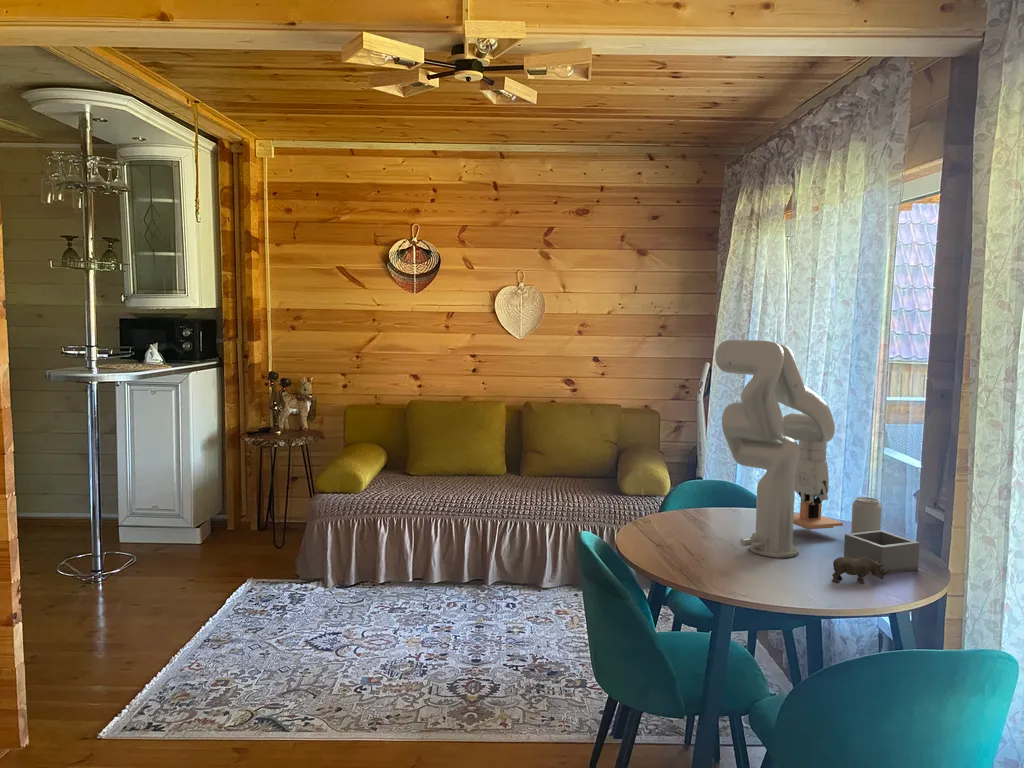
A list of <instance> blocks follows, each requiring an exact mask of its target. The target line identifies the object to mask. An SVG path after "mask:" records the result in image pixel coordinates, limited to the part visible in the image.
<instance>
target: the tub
mask: <svg viewBox="0 0 1024 768" xmlns="http://www.w3.org/2000/svg"><path fill="white" fill-rule="evenodd" d="M843 547H844V549H843V557H849V558H852V559H859V558H864V557H866V558H869V559H871V560H873V561H875V562H876V561H877V560H878V559H879V564H884V565H883V566H882V567H880V569H883V568H885V569H884V571H887V570H888V569H890V571H889V572H888V573H887V574H886V575H893V574H901V573H907V572H914V571H919V563H920V561H919V560H920V542H919V541H915V540H912V539H909V538H906V537H904V536H900V535H898V534H894V533H891V532H888V531H885V530H881V529H880V530H876V531H868V532H859V533H851V532H850V533H845V534H844V546H843ZM884 571H883V572H884ZM886 575H885V576H886Z"/></svg>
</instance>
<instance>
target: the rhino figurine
mask: <svg viewBox="0 0 1024 768" xmlns="http://www.w3.org/2000/svg"><path fill="white" fill-rule="evenodd" d="M832 565H833V570H834V573H832V575H831V576H832V579H831V582H832V583H835V584H840V580H841V581H842V580H843V577H842V576H841V575H843V574H847V575H849V576H857V578H856V579H857V583H858V584H861V585H864V584H865V581H864V578H865V577H866V576H867V575H868V574H869V573H871V574H872V575H873V576H874V577H876V578H878V579H880V580H882V579H884V578H885V576H886V574H887V573H888V572H889V571H890V569H888V570H887V571H884V569H885V568H883V569H880V567H882V566H883V565H884V564H879V559H878V560H877V561H876V562H875V561H873V560H871V559H869V558H866V557H864V558H859V559H852V558H849V557H844V556H843V557H841V556H840V557H837V558H835V559H834V560H833V564H832ZM883 571H884V572H883Z"/></svg>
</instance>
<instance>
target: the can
mask: <svg viewBox="0 0 1024 768" xmlns="http://www.w3.org/2000/svg"><path fill="white" fill-rule="evenodd" d="M851 511H852V512H851V527H850V528H851V530H850V531H851V532H850V534H851V533H859V532H868V531H876V530H881V524H882V504H880V499H877V498H873V497H868V496H858V497H855V498H854V501H853V502H852V508H851Z"/></svg>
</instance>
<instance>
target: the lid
mask: <svg viewBox="0 0 1024 768" xmlns="http://www.w3.org/2000/svg"><path fill="white" fill-rule="evenodd" d="M809 505H811V504H810V501H801V500H800V505H799V506H800V508H799V512H797V513H795V512H794V519H793V525H796V526H798V527H801V528H804V529H805V530H820V529H833V528H834V527H842V526H843V525H844V523H843V522H841V521H838V520H835V519H832V518H829V517H826V516H823V515H822V510H823V509H822V507H823V501H822V502H821V504H820V505H819V517H818V518H811V519H810V518H809Z"/></svg>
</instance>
